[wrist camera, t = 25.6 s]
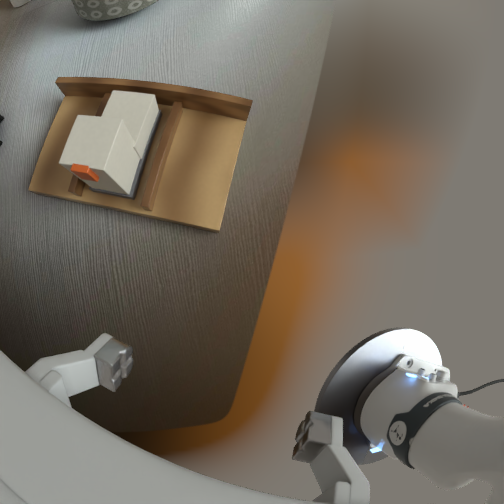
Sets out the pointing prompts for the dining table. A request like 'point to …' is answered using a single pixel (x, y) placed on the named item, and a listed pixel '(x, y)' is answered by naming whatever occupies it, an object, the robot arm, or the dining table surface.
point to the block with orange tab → (113, 144)
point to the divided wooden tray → (155, 151)
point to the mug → (18, 2)
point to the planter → (108, 8)
